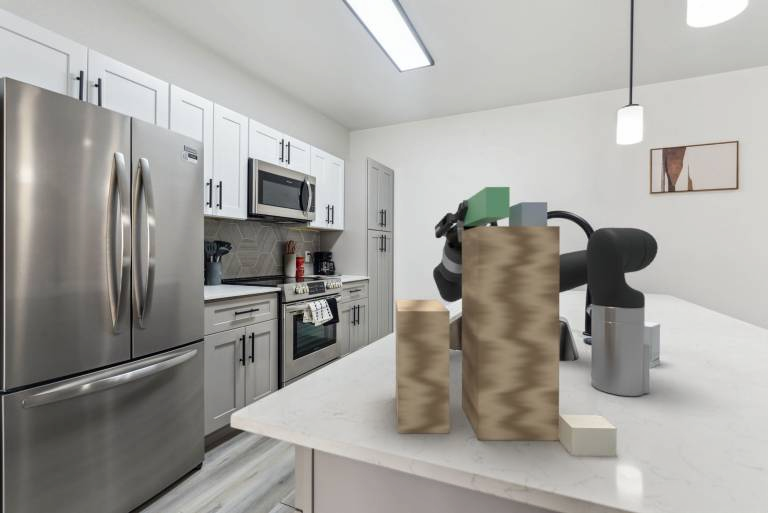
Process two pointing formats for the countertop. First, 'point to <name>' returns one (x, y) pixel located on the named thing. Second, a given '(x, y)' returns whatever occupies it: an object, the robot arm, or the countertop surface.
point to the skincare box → (653, 342)
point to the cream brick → (587, 435)
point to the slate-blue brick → (528, 214)
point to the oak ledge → (422, 366)
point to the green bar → (488, 206)
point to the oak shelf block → (511, 331)
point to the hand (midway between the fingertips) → (476, 203)
